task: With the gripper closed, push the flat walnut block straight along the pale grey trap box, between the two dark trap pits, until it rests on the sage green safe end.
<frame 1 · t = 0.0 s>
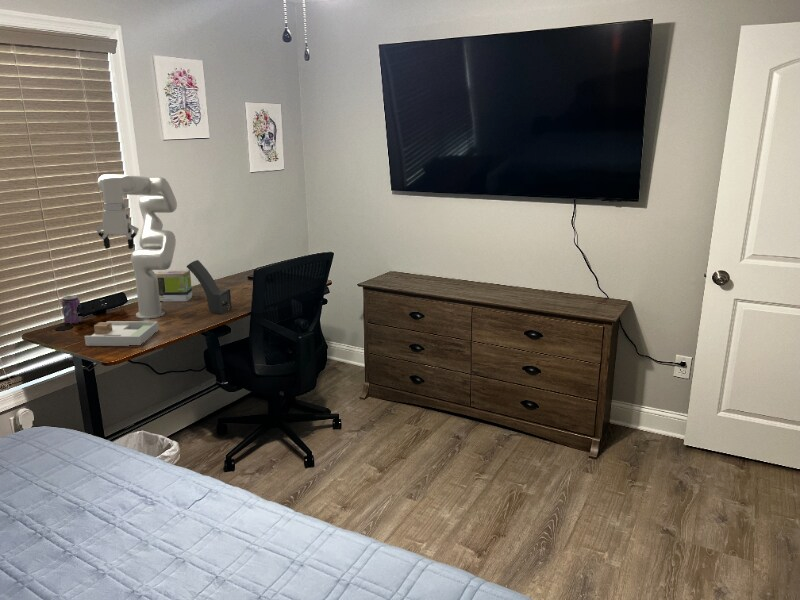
hand: (119, 248, 252), 37 cm above the table, tool pointing down, fingers open, 9 cm apart
tea box: (175, 299, 312), on the table
trap box: (123, 337, 255), on the table
beverage can: (73, 323, 274), on the table
walnut block: (103, 331, 254), point 2 cm above the table, touching trap box
light fixture: (210, 311, 294), on the table
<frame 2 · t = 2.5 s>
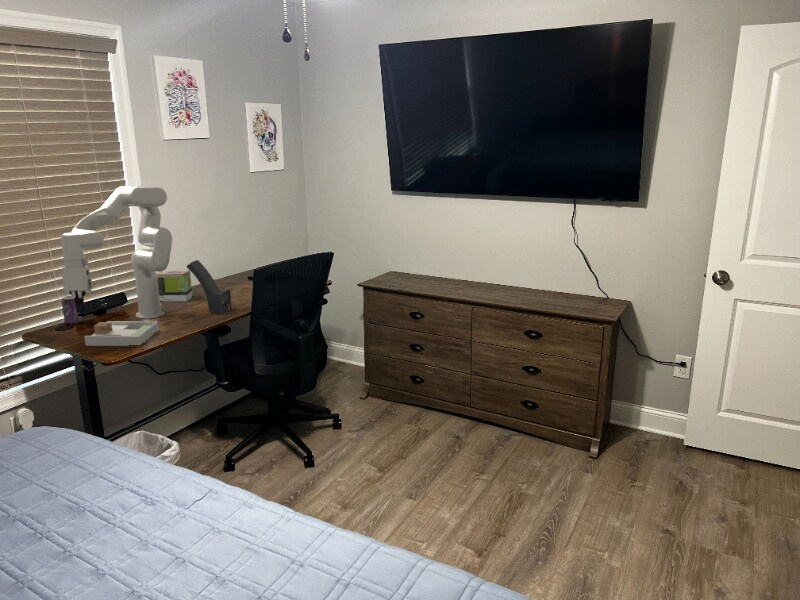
hand: (79, 306, 250), 14 cm above the table, tool pointing down, fingers closed
nothing on the table moved.
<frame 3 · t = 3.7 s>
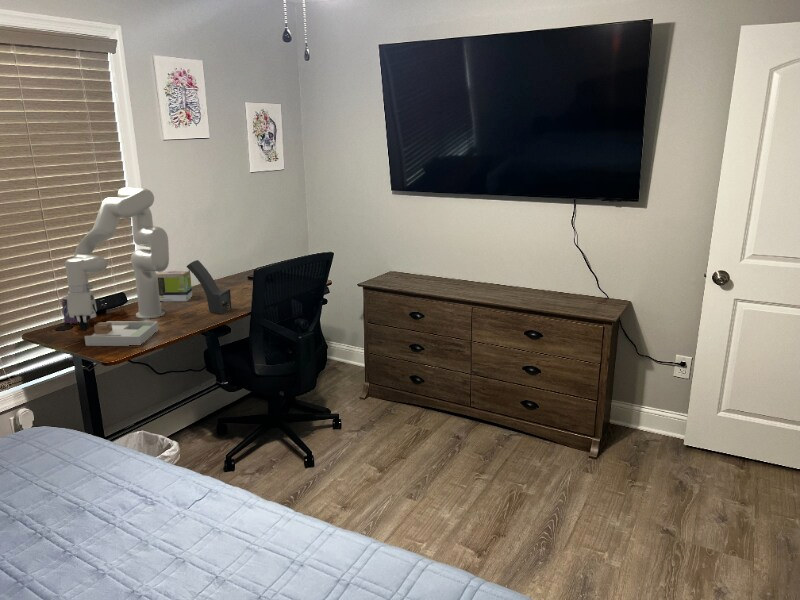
hand: (84, 330, 254), 3 cm above the table, tool pointing down, fingers closed
nothing on the table moved.
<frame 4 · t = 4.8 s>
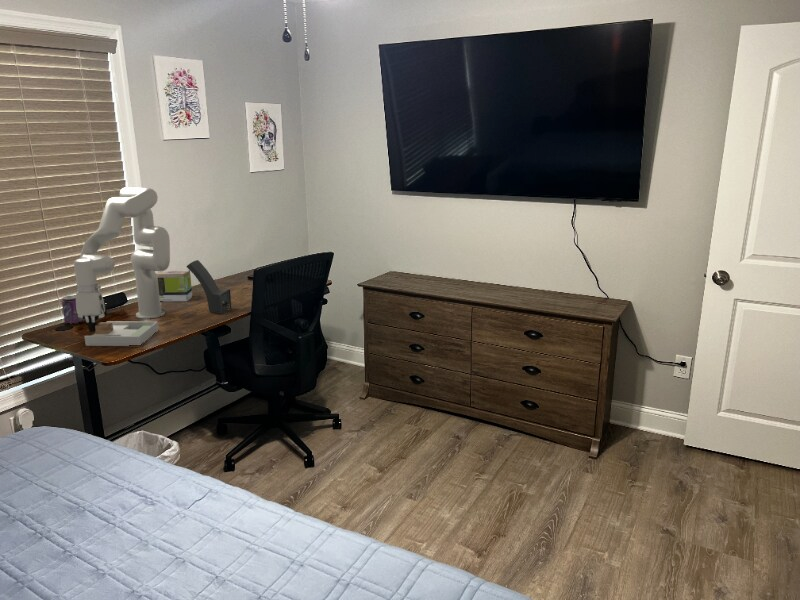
hand: (93, 330, 254), 3 cm above the table, tool pointing down, fingers closed
nothing on the table moved.
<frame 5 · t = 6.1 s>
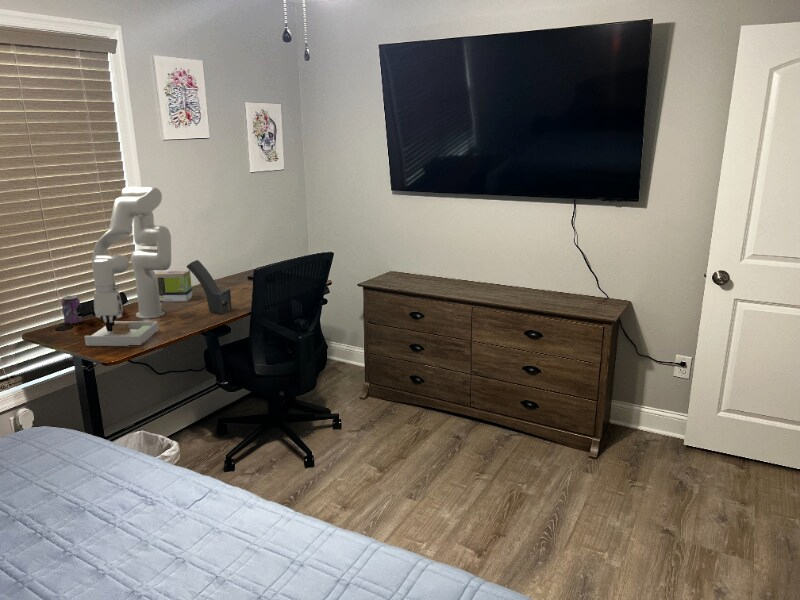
hand: (110, 330, 254), 3 cm above the table, tool pointing down, fingers closed
walnut block: (121, 332, 254), point 3 cm above the table, touching gripper, trap box
everything else where it was.
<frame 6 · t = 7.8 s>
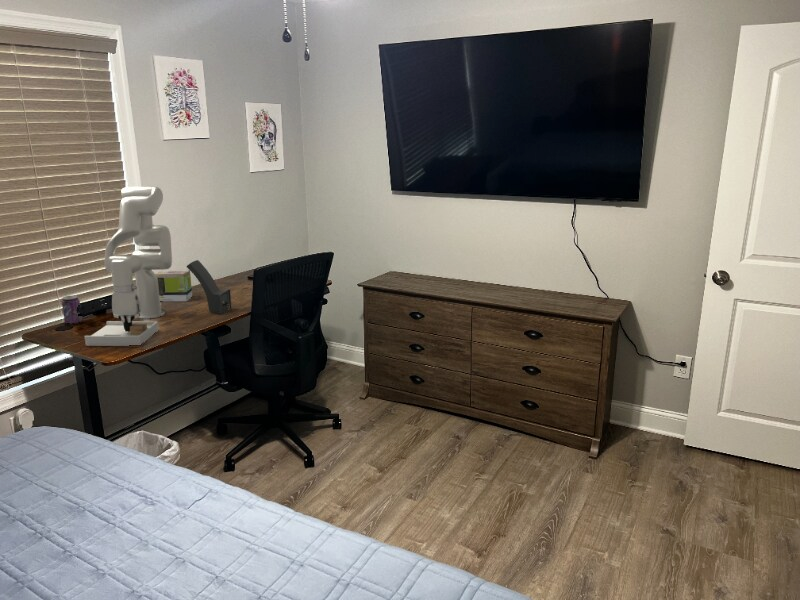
hand: (128, 330, 254), 3 cm above the table, tool pointing down, fingers closed
walnut block: (139, 332, 253), point 3 cm above the table, touching gripper
everything else where it was.
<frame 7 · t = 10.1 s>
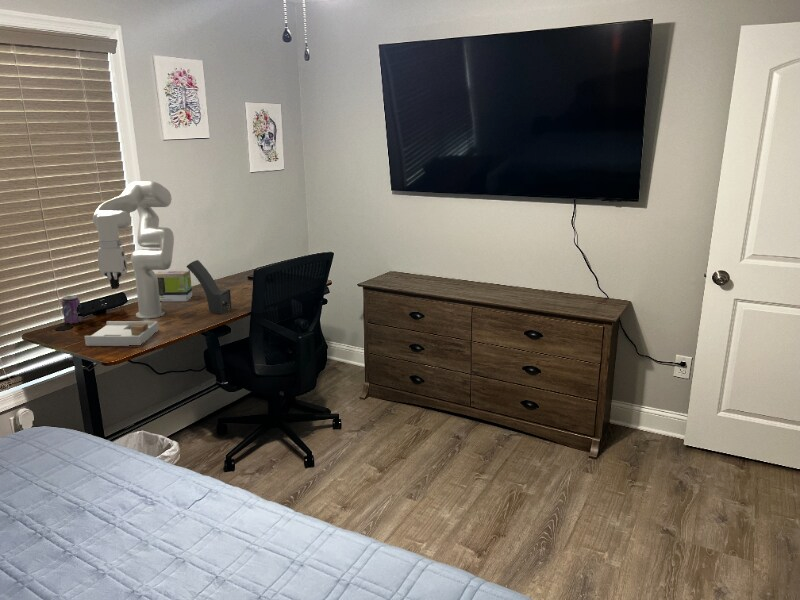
hand: (115, 288, 249), 22 cm above the table, tool pointing down, fingers closed
walnut block: (140, 332, 253), point 2 cm above the table, touching trap box
everything else where it was.
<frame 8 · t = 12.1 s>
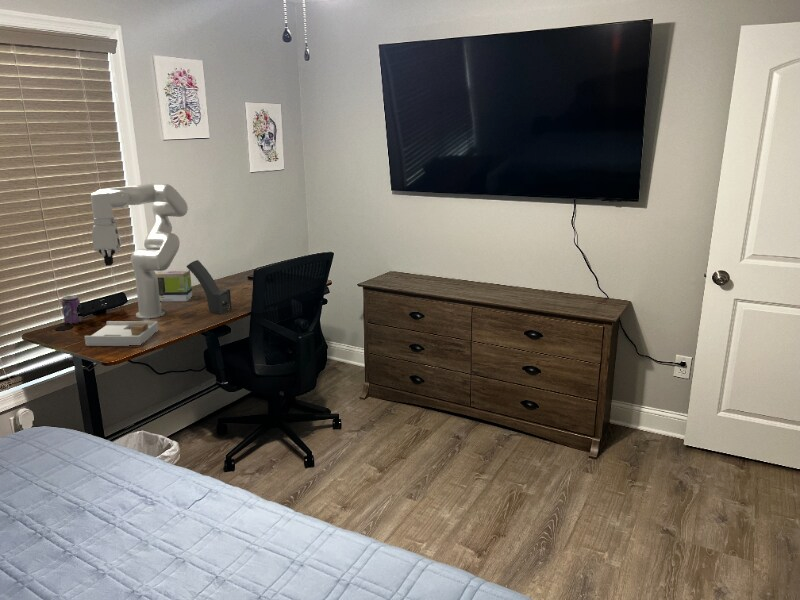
hand: (109, 265, 256), 29 cm above the table, tool pointing down, fingers closed
nothing on the table moved.
at the end: walnut block 1.0 cm from the target spot on the trap box, point 2.5 cm above the trap box's base; walnut block tilted 0°; walnut block moved 15.7 cm from its start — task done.
